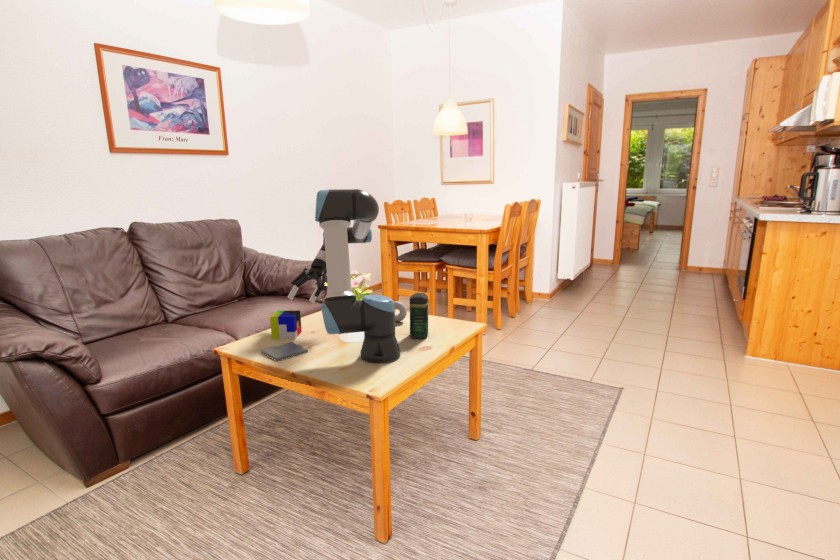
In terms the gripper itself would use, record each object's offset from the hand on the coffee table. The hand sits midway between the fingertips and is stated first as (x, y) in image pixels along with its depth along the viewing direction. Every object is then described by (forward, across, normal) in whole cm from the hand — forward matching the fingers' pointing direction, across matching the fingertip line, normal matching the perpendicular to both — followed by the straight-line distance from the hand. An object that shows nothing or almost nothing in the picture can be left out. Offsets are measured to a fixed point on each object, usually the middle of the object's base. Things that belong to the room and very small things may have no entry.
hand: (300, 300), depth 204 cm
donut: (-12, -31, -32) cm, 46 cm away
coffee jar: (-3, -51, -23) cm, 56 cm away
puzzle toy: (+17, -1, -3) cm, 17 cm away
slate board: (+27, -16, +8) cm, 32 cm away
